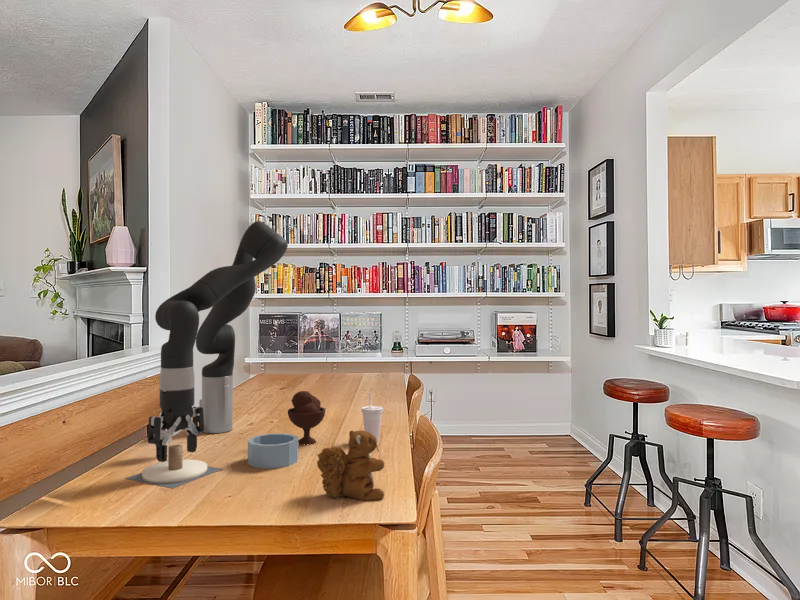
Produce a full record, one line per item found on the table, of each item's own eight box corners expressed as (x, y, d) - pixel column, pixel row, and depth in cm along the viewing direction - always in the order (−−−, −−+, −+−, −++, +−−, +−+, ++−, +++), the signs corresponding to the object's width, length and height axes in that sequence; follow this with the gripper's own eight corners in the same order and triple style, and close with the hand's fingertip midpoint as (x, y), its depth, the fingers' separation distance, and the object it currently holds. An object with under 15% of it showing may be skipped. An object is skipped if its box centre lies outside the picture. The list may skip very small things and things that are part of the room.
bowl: (238, 466, 133) (238, 442, 133) (269, 454, 144) (269, 431, 144) (277, 473, 128) (277, 447, 128) (307, 459, 139) (307, 436, 139)
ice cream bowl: (318, 448, 150) (319, 394, 150) (280, 446, 152) (281, 392, 152) (331, 439, 160) (331, 388, 160) (295, 437, 162) (295, 387, 162)
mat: (124, 480, 122) (124, 478, 122) (177, 463, 136) (177, 460, 136) (172, 491, 116) (172, 488, 116) (223, 471, 129) (223, 468, 129)
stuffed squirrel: (387, 499, 111) (388, 435, 112) (318, 505, 108) (318, 439, 108) (379, 483, 121) (379, 424, 121) (315, 488, 118) (315, 427, 118)
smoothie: (361, 438, 161) (361, 391, 161) (382, 438, 162) (382, 391, 162) (361, 444, 155) (361, 395, 155) (383, 443, 155) (384, 394, 155)
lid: (128, 478, 123) (128, 450, 123) (177, 461, 135) (177, 436, 135) (173, 487, 117) (173, 458, 117) (220, 469, 129) (220, 443, 129)
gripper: (189, 381, 134) (189, 447, 134) (139, 389, 121) (139, 462, 121) (212, 383, 131) (212, 450, 131) (163, 392, 118) (163, 466, 118)
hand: (177, 456), depth 126 cm, fingers open, 8 cm apart
